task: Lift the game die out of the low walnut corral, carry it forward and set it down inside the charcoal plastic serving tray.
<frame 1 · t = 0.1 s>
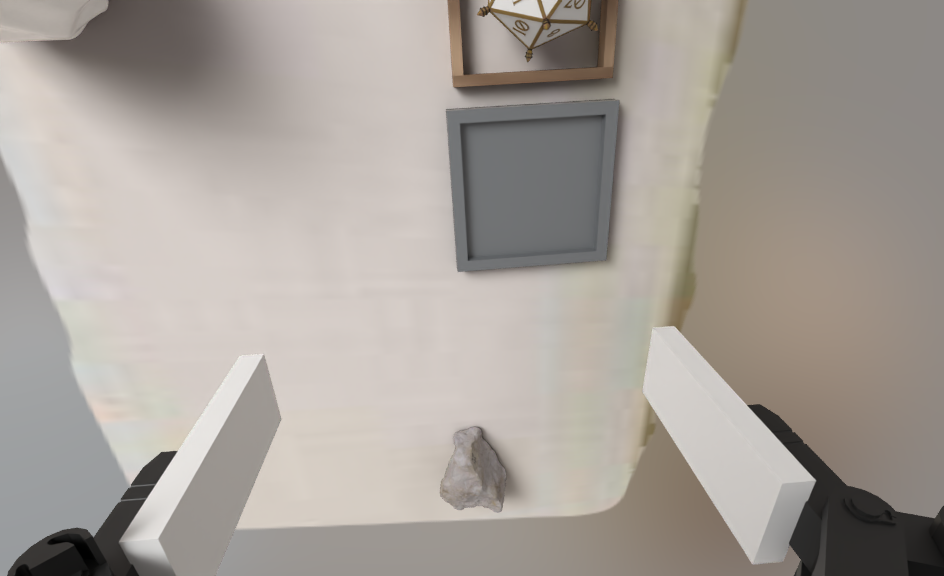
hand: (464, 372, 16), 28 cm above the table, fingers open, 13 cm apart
tray: (529, 187, 42), on the table
stone: (470, 455, 56), on the table
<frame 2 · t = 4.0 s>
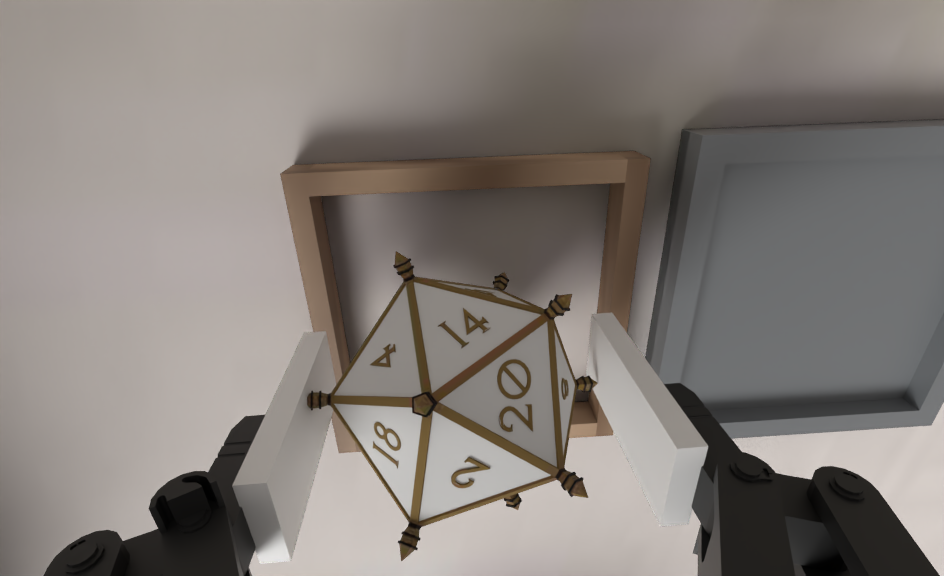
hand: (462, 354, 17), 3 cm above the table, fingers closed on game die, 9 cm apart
game die: (456, 325, 19), point 1 cm above the table, touching gripper
tray: (811, 289, 21), on the table
corral: (471, 307, 20), on the table
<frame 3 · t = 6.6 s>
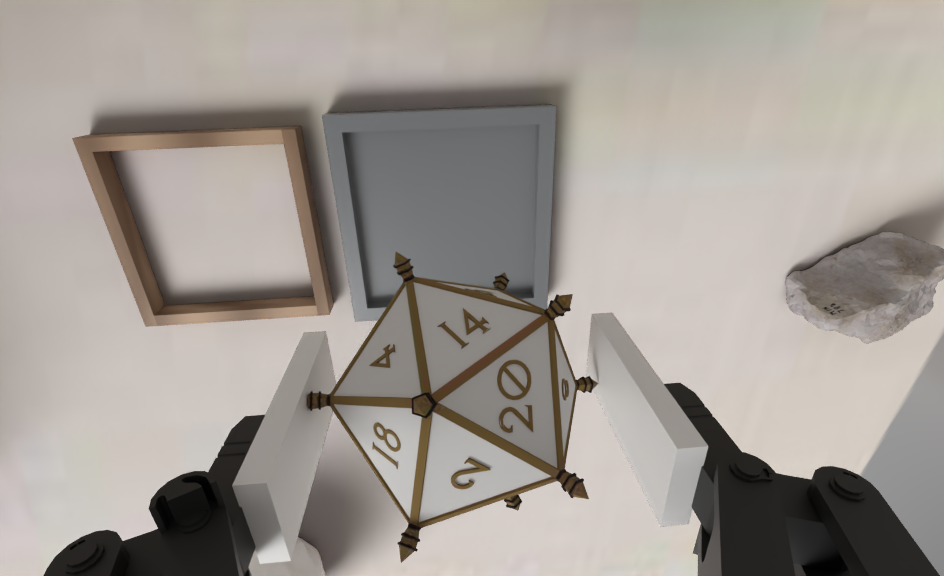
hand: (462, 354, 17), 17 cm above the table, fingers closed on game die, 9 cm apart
game die: (456, 326, 19), point 15 cm above the table, touching gripper
tray: (446, 216, 32), on the table
corral: (223, 228, 31), on the table
stone: (839, 276, 37), on the table
vase: (262, 557, 46), on the table
when the fingers open (3 cm above the table, at t = 9.4 s): game die drops 1 cm, resting on tray.
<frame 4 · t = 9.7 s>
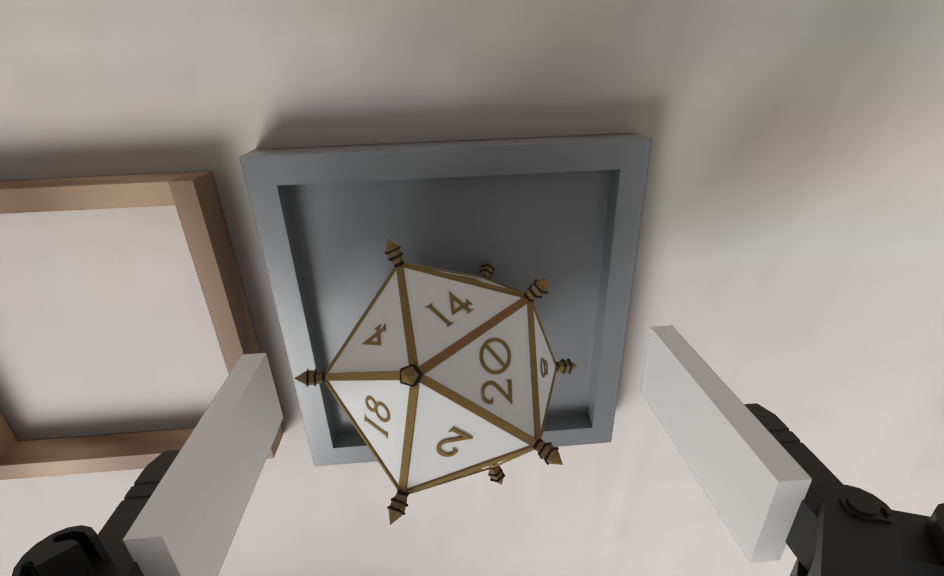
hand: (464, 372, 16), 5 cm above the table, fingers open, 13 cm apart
game die: (445, 312, 20), resting on tray
tray: (457, 308, 20), on the table
corral: (97, 330, 19), on the table
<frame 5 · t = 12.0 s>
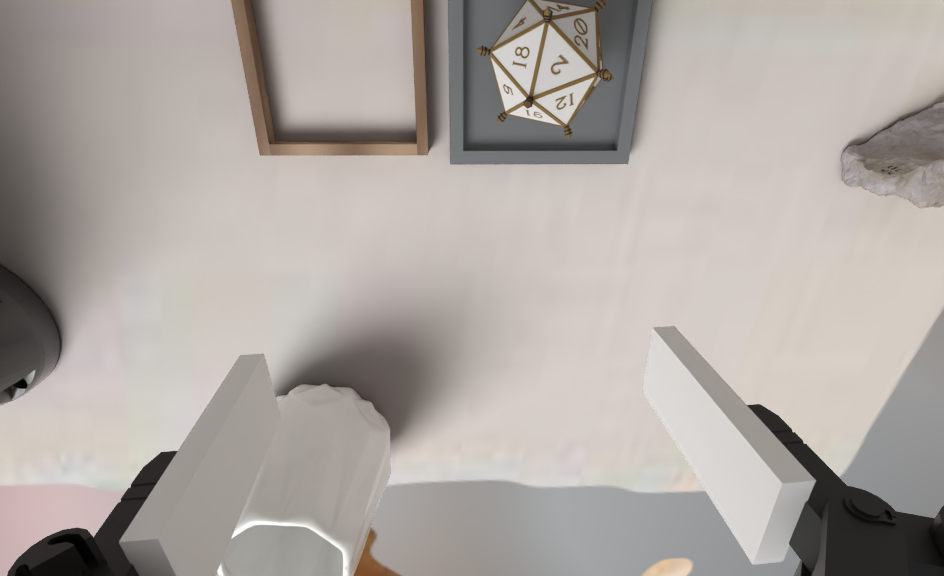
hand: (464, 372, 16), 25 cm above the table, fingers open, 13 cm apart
game die: (536, 64, 34), resting on tray
tray: (542, 64, 35), on the table
corral: (339, 63, 34), on the table
stone: (892, 154, 40), on the table
vase: (329, 423, 49), on the table
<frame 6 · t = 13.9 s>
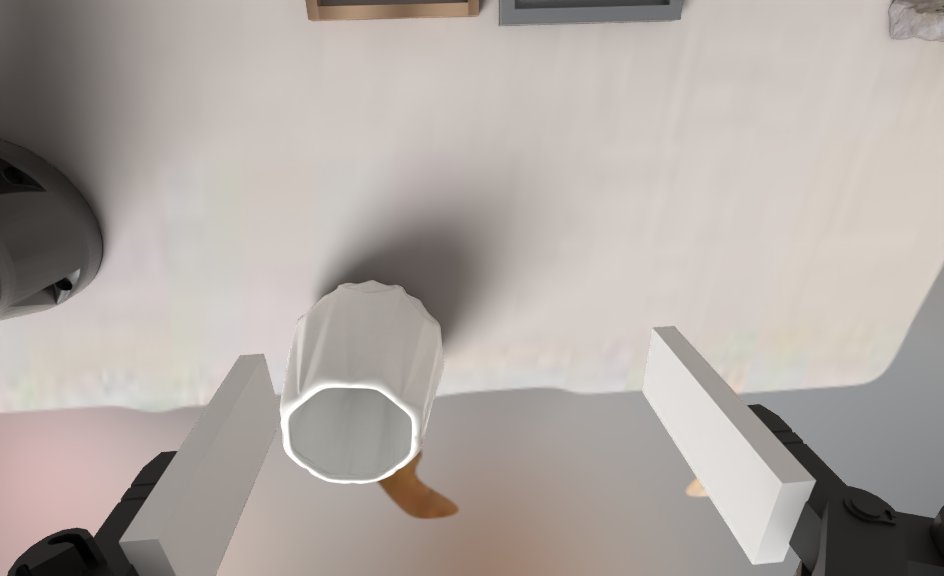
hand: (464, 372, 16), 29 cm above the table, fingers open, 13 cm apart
stone: (939, 7, 39), on the table
vase: (374, 329, 48), on the table
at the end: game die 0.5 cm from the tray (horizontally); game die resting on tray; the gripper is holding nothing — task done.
